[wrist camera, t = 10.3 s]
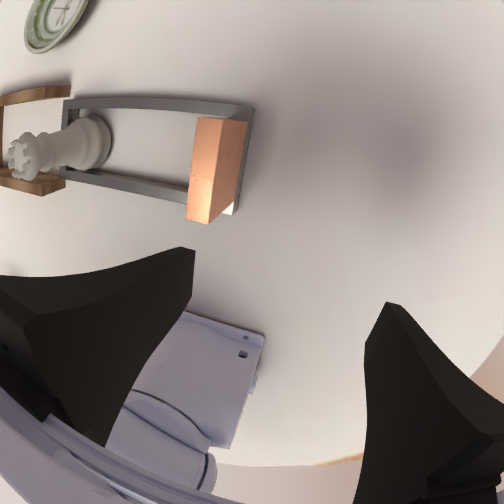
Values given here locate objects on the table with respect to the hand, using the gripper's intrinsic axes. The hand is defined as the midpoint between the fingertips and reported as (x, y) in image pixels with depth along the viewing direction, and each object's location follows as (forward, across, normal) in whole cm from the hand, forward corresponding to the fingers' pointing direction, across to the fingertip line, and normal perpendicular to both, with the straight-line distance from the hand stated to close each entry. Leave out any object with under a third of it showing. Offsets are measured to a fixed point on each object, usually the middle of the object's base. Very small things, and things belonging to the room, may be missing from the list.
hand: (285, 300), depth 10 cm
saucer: (+10, +24, -16) cm, 30 cm away
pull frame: (+9, +12, -3) cm, 16 cm away
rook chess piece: (+10, +17, -3) cm, 20 cm away
